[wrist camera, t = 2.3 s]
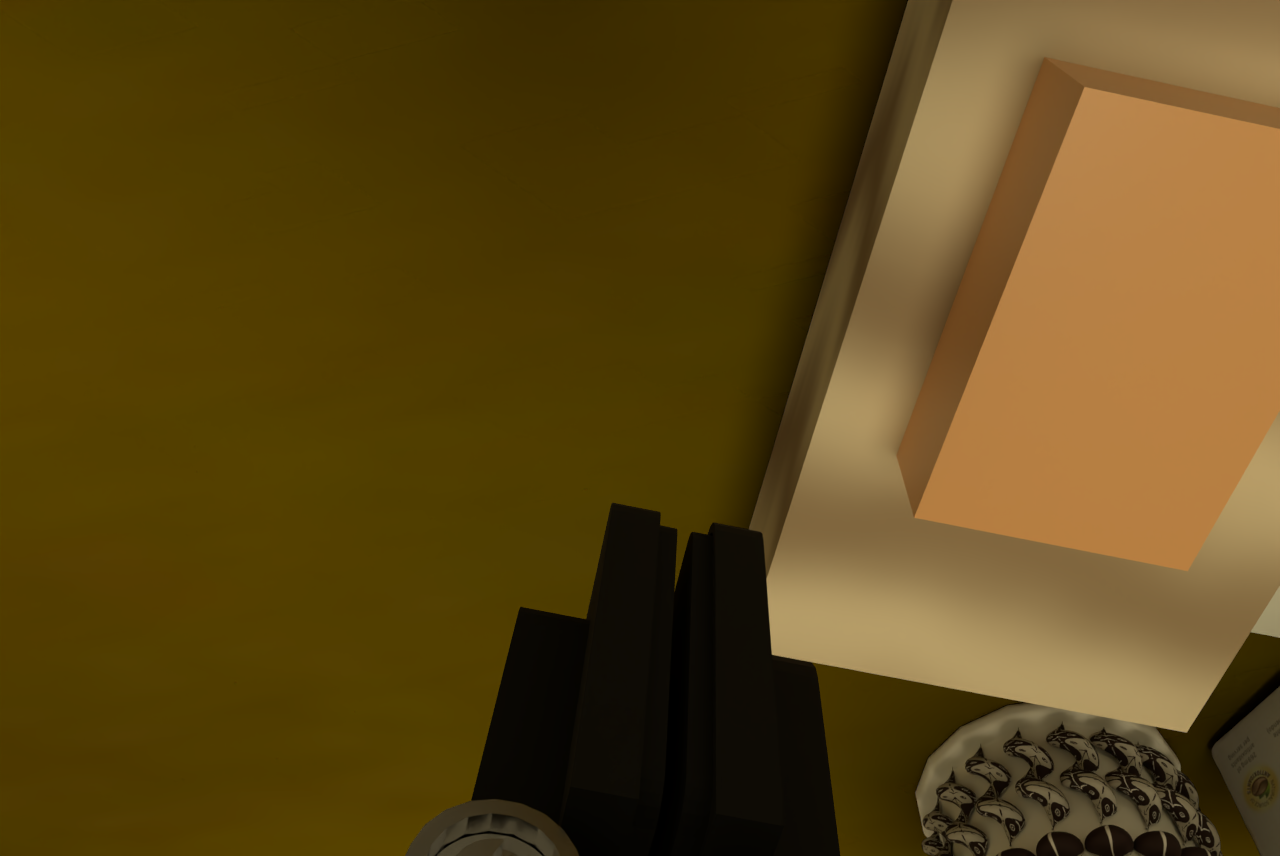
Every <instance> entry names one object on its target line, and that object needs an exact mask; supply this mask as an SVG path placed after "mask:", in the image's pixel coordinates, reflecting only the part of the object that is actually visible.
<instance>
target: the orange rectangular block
mask: <svg viewBox="0 0 1280 856" xmlns="http://www.w3.org/2000/svg"><path fill="white" fill-rule="evenodd" d="M1279 411H1280V108H1277V107H1272V106H1268V105H1263V104H1258V103H1254V102H1249V101H1245V100H1240V99H1235V98H1231V97H1226V96H1222V95H1217V94H1212V93H1208V92H1203V91H1199V90H1194V89H1189V88H1185V87H1180V86H1175V85H1171V84H1166V83H1162V82H1157V81H1152V80H1148V79H1143V78H1139V77H1134V76H1129V75H1125V74H1120V73H1116V72H1111V71H1106V70H1102V69H1097V68H1093V67H1088V66H1083V65H1079V64H1074V63H1069V62H1065V61H1060V60H1056V59H1051V58H1046V57H1044V60H1043V63H1042V65H1041V68H1040V71H1039V73H1038V76H1037V79H1036V81H1035V84H1034V87H1033V89H1032V92H1031V95H1030V98H1029V100H1028V103H1027V106H1026V108H1025V111H1024V114H1023V116H1022V119H1021V122H1020V124H1019V127H1018V130H1017V133H1016V135H1015V138H1014V141H1013V143H1012V146H1011V149H1010V151H1009V154H1008V157H1007V159H1006V162H1005V165H1004V167H1003V170H1002V173H1001V176H1000V178H999V181H998V184H997V186H996V189H995V192H994V194H993V197H992V200H991V202H990V205H989V208H988V210H987V213H986V216H985V219H984V221H983V224H982V227H981V229H980V232H979V235H978V237H977V240H976V243H975V245H974V248H973V251H972V254H971V256H970V259H969V262H968V264H967V267H966V270H965V272H964V275H963V278H962V280H961V283H960V286H959V288H958V291H957V294H956V297H955V299H954V302H953V305H952V307H951V310H950V313H949V315H948V318H947V321H946V323H945V326H944V329H943V331H942V334H941V337H940V340H939V342H938V345H937V348H936V350H935V353H934V356H933V358H932V361H931V364H930V366H929V369H928V372H927V375H926V377H925V380H924V383H923V385H922V388H921V391H920V393H919V396H918V399H917V401H916V404H915V407H914V409H913V412H912V415H911V418H910V420H909V423H908V426H907V428H906V431H905V434H904V436H903V439H902V442H901V444H900V447H899V450H898V452H897V455H896V456H897V460H898V463H899V467H900V470H901V474H902V477H903V481H904V484H905V488H906V491H907V495H908V498H909V502H910V505H911V509H912V512H913V516H914V518H918V519H923V520H928V521H933V522H938V523H944V524H949V525H954V526H959V527H964V528H969V529H974V530H979V531H985V532H990V533H995V534H1000V535H1005V536H1010V537H1015V538H1020V539H1026V540H1031V541H1036V542H1041V543H1046V544H1051V545H1056V546H1061V547H1066V548H1072V549H1077V550H1082V551H1087V552H1092V553H1097V554H1102V555H1107V556H1113V557H1118V558H1123V559H1128V560H1133V561H1138V562H1143V563H1148V564H1153V565H1159V566H1164V567H1169V568H1174V569H1179V570H1184V571H1188V570H1189V568H1190V566H1191V565H1192V563H1193V561H1194V560H1195V558H1196V556H1197V554H1198V553H1199V551H1200V549H1201V547H1202V546H1203V544H1204V542H1205V540H1206V539H1207V537H1208V535H1209V533H1210V532H1211V530H1212V528H1213V526H1214V525H1215V523H1216V521H1217V519H1218V518H1219V516H1220V514H1221V512H1222V511H1223V509H1224V507H1225V505H1226V504H1227V502H1228V500H1229V498H1230V497H1231V495H1232V493H1233V491H1234V490H1235V488H1236V486H1237V484H1238V483H1239V481H1240V479H1241V477H1242V476H1243V474H1244V472H1245V470H1246V469H1247V467H1248V465H1249V463H1250V462H1251V460H1252V458H1253V456H1254V455H1255V453H1256V451H1257V449H1258V448H1259V446H1260V444H1261V442H1262V441H1263V439H1264V437H1265V435H1266V434H1267V432H1268V430H1269V428H1270V427H1271V425H1272V423H1273V421H1274V420H1275V418H1276V416H1277V415H1278V413H1279Z"/></svg>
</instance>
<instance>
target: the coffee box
mask: <svg viewBox="0 0 1280 856" xmlns="http://www.w3.org/2000/svg"><path fill="white" fill-rule="evenodd" d="M1212 756H1213V759H1214V761H1215V763H1216V765H1217V767H1218V768H1219V770H1220V772H1221V774H1222V777H1223V779H1224V781H1225V783H1226V785H1227V787H1228V789H1229V791H1230V793H1231V795H1232V797H1233V799H1234V801H1235V803H1236V805H1237V808H1238V810H1239V812H1240V814H1241V816H1242V818H1243V820H1244V822H1245V825H1246V827H1247V829H1248V831H1249V833H1250V835H1251V836H1252V838H1253V840H1254V842H1255V844H1256V846H1257V849H1258V851H1259V853H1260V855H1261V856H1280V686H1279V687H1278V688H1277V689H1276V690H1275V691H1274V692H1273V693H1271V694H1270V695H1269V696H1268V697H1267V698H1266V699H1265V700H1264V701H1262V702H1261V703H1260V704H1259V705H1258V706H1257V707H1256V708H1255V709H1254V710H1253V711H1251V712H1250V713H1249V714H1248V715H1247V716H1246V717H1245V718H1243V719H1242V720H1241V721H1240V722H1239V723H1238V724H1237V725H1236V726H1234V727H1233V728H1232V729H1231V730H1230V731H1229V732H1228V733H1226V734H1225V735H1224V736H1223V737H1222V738H1221V739H1219V740H1218V741H1217V742H1216V743H1215V745H1214V746H1213V748H1212Z"/></svg>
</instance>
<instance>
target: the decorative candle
mask: <svg viewBox="0 0 1280 856" xmlns="http://www.w3.org/2000/svg"><path fill="white" fill-rule="evenodd" d="M915 794H916V799H917V804H918V809H919V813H920V818H921V823H922V828H923V832H924V834H925V836H926V837H927V838H926V839H924V840H923V841H922V849H923V851H924V852H925V853H927V854H929V855H932V856H1223V855H1222V852H1221V850H1220V838H1219V835H1218V832H1217V830H1216V828H1215V826H1214V825H1213V824H1212V822H1211V821H1210V820H1209V819H1208V818H1207V817H1206V816H1205V815H1204V814H1203V813H1201V811H1200V808H1199V807H1198V804H1199V799H1198V794H1197V791H1196V789H1195V787H1194V785H1193V783H1192V782H1191V781H1190V779H1189V778H1188V777H1187V776H1186V775H1185V774H1183V773H1182V772H1181V764H1180V762H1179V760H1178V758H1177V756H1176V755H1175V753H1174V752H1173V751H1172V749H1171V748H1170V746H1169V745H1168V744H1167V742H1166V741H1165V740H1164V738H1163V737H1162V735H1161V734H1160V733H1159V731H1158V730H1157V729H1156V727H1154V726H1149V725H1144V724H1138V723H1133V722H1128V721H1122V720H1117V719H1112V718H1106V717H1101V716H1096V715H1090V714H1085V713H1080V712H1075V711H1069V710H1064V709H1059V708H1053V707H1048V706H1043V705H1037V704H1032V703H1020V704H1014V705H1007V706H1005V707H1003V708H1000V709H998V710H996V711H994V712H992V713H990V714H987V715H985V716H983V717H981V718H979V719H977V720H974V721H972V722H970V723H968V724H966V725H964V726H961V727H960V728H959V729H958V730H957V731H955V732H954V733H953V734H952V735H951V736H950V737H949V738H948V739H947V740H946V741H945V742H944V743H943V744H942V745H941V746H940V747H939V748H938V749H937V750H936V751H935V752H934V753H933V754H932V755H931V756H930V757H929V758H928V759H927V762H926V765H925V768H924V770H923V773H922V776H921V778H920V781H919V784H918V786H917V789H916V792H915Z"/></svg>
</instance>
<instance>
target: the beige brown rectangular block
mask: <svg viewBox="0 0 1280 856" xmlns="http://www.w3.org/2000/svg"><path fill="white" fill-rule="evenodd" d="M1044 57H1046V58H1051V59H1056V60H1060V61H1065V62H1069V63H1074V64H1079V65H1083V66H1088V67H1093V68H1097V69H1102V70H1106V71H1111V72H1116V73H1120V74H1125V75H1129V76H1134V77H1139V78H1143V79H1148V80H1152V81H1157V82H1162V83H1166V84H1171V85H1175V86H1180V87H1185V88H1189V89H1194V90H1199V91H1203V92H1208V93H1212V94H1217V95H1222V96H1226V97H1231V98H1235V99H1240V100H1245V101H1249V102H1254V103H1258V104H1263V105H1268V106H1272V107H1277V108H1280V0H908V2H907V6H906V9H905V12H904V16H903V19H902V22H901V26H900V29H899V32H898V36H897V39H896V42H895V46H894V49H893V52H892V56H891V59H890V62H889V65H888V69H887V72H886V75H885V79H884V82H883V85H882V89H881V92H880V95H879V99H878V102H877V105H876V109H875V112H874V115H873V119H872V122H871V125H870V129H869V132H868V135H867V138H866V142H865V145H864V148H863V152H862V155H861V158H860V162H859V165H858V168H857V172H856V175H855V178H854V182H853V185H852V188H851V192H850V195H849V198H848V201H847V205H846V208H845V211H844V215H843V218H842V221H841V225H840V228H839V231H838V235H837V238H836V241H835V245H834V248H833V251H832V255H831V258H830V261H829V264H828V268H827V271H826V274H825V278H824V281H823V284H822V288H821V291H820V294H819V298H818V301H817V304H816V308H815V311H814V314H813V318H812V321H811V324H810V327H809V331H808V334H807V337H806V341H805V344H804V347H803V351H802V354H801V357H800V361H799V364H798V367H797V371H796V374H795V377H794V381H793V384H792V387H791V390H790V394H789V397H788V400H787V404H786V407H785V410H784V414H783V417H782V420H781V424H780V427H779V430H778V434H777V437H776V440H775V444H774V447H773V450H772V453H771V457H770V460H769V463H768V467H767V470H766V473H765V477H764V480H763V483H762V487H761V490H760V493H759V497H758V500H757V503H756V507H755V510H754V513H753V516H752V520H751V523H750V526H749V530H754V531H759V532H761V533H762V534H763V540H764V553H765V567H766V581H767V595H768V608H769V622H770V636H771V650H772V655H777V656H782V657H788V658H793V659H798V660H803V661H809V662H814V663H819V664H825V665H830V666H835V667H841V668H846V669H851V670H857V671H862V672H867V673H873V674H878V675H883V676H889V677H894V678H899V679H904V680H910V681H915V682H920V683H926V684H931V685H936V686H942V687H947V688H952V689H958V690H963V691H968V692H974V693H979V694H984V695H989V696H995V697H1000V698H1005V699H1011V700H1016V701H1021V702H1027V703H1032V704H1037V705H1043V706H1048V707H1053V708H1059V709H1064V710H1069V711H1075V712H1080V713H1085V714H1090V715H1096V716H1101V717H1106V718H1112V719H1117V720H1122V721H1128V722H1133V723H1138V724H1144V725H1149V726H1154V727H1160V728H1165V729H1170V730H1175V731H1181V732H1186V733H1187V731H1188V730H1189V728H1190V727H1191V725H1192V724H1193V722H1194V720H1195V719H1196V717H1197V716H1198V714H1199V712H1200V711H1201V709H1202V708H1203V706H1204V705H1205V703H1206V701H1207V700H1208V698H1209V697H1210V695H1211V694H1212V692H1213V690H1214V689H1215V687H1216V686H1217V684H1218V682H1219V681H1220V679H1221V678H1222V676H1223V675H1224V673H1225V671H1226V670H1227V668H1228V667H1229V665H1230V664H1231V662H1232V660H1233V659H1234V657H1235V656H1236V654H1237V652H1238V651H1239V649H1240V648H1241V646H1242V645H1243V643H1244V641H1245V640H1246V638H1247V637H1248V635H1249V634H1250V632H1251V630H1252V629H1253V627H1254V626H1255V624H1256V622H1257V621H1258V619H1259V618H1260V616H1261V615H1262V613H1263V611H1264V610H1265V608H1266V607H1267V605H1268V603H1269V602H1270V600H1271V599H1272V597H1273V596H1274V594H1275V592H1276V591H1277V589H1278V588H1279V586H1280V411H1279V413H1278V415H1277V416H1276V418H1275V420H1274V421H1273V423H1272V425H1271V427H1270V428H1269V430H1268V432H1267V434H1266V435H1265V437H1264V439H1263V441H1262V442H1261V444H1260V446H1259V448H1258V449H1257V451H1256V453H1255V455H1254V456H1253V458H1252V460H1251V462H1250V463H1249V465H1248V467H1247V469H1246V470H1245V472H1244V474H1243V476H1242V477H1241V479H1240V481H1239V483H1238V484H1237V486H1236V488H1235V490H1234V491H1233V493H1232V495H1231V497H1230V498H1229V500H1228V502H1227V504H1226V505H1225V507H1224V509H1223V511H1222V512H1221V514H1220V516H1219V518H1218V519H1217V521H1216V523H1215V525H1214V526H1213V528H1212V530H1211V532H1210V533H1209V535H1208V537H1207V539H1206V540H1205V542H1204V544H1203V546H1202V547H1201V549H1200V551H1199V553H1198V554H1197V556H1196V558H1195V560H1194V561H1193V563H1192V565H1191V566H1190V568H1189V570H1188V571H1184V570H1179V569H1174V568H1169V567H1164V566H1159V565H1153V564H1148V563H1143V562H1138V561H1133V560H1128V559H1123V558H1118V557H1113V556H1107V555H1102V554H1097V553H1092V552H1087V551H1082V550H1077V549H1072V548H1066V547H1061V546H1056V545H1051V544H1046V543H1041V542H1036V541H1031V540H1026V539H1020V538H1015V537H1010V536H1005V535H1000V534H995V533H990V532H985V531H979V530H974V529H969V528H964V527H959V526H954V525H949V524H944V523H938V522H933V521H928V520H923V519H918V518H914V516H913V512H912V509H911V505H910V502H909V498H908V495H907V491H906V488H905V484H904V481H903V477H902V474H901V470H900V467H899V463H898V460H897V456H896V455H897V452H898V450H899V447H900V444H901V442H902V439H903V436H904V434H905V431H906V428H907V426H908V423H909V420H910V418H911V415H912V412H913V409H914V407H915V404H916V401H917V399H918V396H919V393H920V391H921V388H922V385H923V383H924V380H925V377H926V375H927V372H928V369H929V366H930V364H931V361H932V358H933V356H934V353H935V350H936V348H937V345H938V342H939V340H940V337H941V334H942V331H943V329H944V326H945V323H946V321H947V318H948V315H949V313H950V310H951V307H952V305H953V302H954V299H955V297H956V294H957V291H958V288H959V286H960V283H961V280H962V278H963V275H964V272H965V270H966V267H967V264H968V262H969V259H970V256H971V254H972V251H973V248H974V245H975V243H976V240H977V237H978V235H979V232H980V229H981V227H982V224H983V221H984V219H985V216H986V213H987V210H988V208H989V205H990V202H991V200H992V197H993V194H994V192H995V189H996V186H997V184H998V181H999V178H1000V176H1001V173H1002V170H1003V167H1004V165H1005V162H1006V159H1007V157H1008V154H1009V151H1010V149H1011V146H1012V143H1013V141H1014V138H1015V135H1016V133H1017V130H1018V127H1019V124H1020V122H1021V119H1022V116H1023V114H1024V111H1025V108H1026V106H1027V103H1028V100H1029V98H1030V95H1031V92H1032V89H1033V87H1034V84H1035V81H1036V79H1037V76H1038V73H1039V71H1040V68H1041V65H1042V63H1043V60H1044Z"/></svg>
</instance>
